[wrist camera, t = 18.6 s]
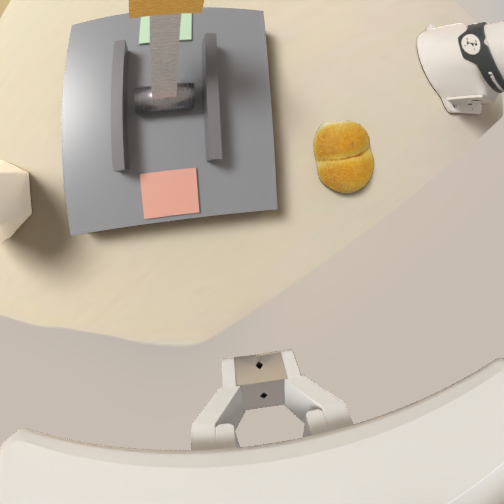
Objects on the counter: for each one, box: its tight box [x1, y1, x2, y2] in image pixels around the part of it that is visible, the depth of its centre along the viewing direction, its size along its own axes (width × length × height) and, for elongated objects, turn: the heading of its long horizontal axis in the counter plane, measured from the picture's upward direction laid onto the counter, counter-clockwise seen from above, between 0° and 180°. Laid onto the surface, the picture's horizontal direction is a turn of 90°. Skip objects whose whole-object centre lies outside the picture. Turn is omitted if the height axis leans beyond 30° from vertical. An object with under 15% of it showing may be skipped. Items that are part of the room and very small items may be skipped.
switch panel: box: [62, 8, 277, 236], centre depth 22 cm, size 20×22×6 cm
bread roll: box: [313, 121, 374, 193], centre depth 30 cm, size 8×9×4 cm
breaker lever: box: [129, 0, 204, 114], centre depth 15 cm, size 5×3×13 cm, turn 94°
